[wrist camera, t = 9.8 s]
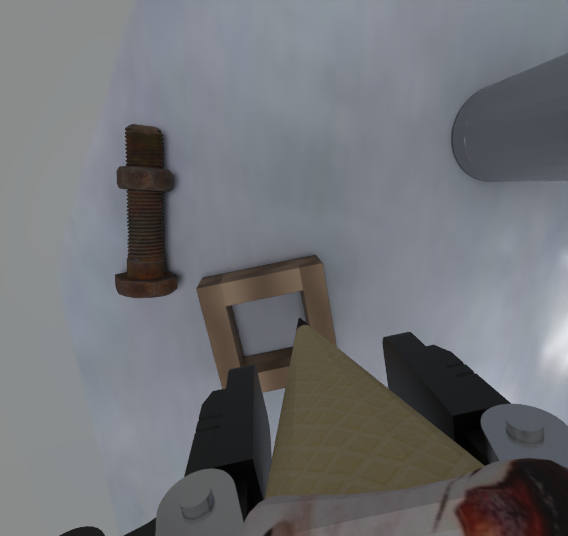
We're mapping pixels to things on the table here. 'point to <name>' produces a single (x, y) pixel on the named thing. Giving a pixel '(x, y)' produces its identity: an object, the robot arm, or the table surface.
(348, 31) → the table surface
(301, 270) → the wooden square frame
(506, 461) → the ice cream cone
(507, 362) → the table surface
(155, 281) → the bolt
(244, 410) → the robot arm
